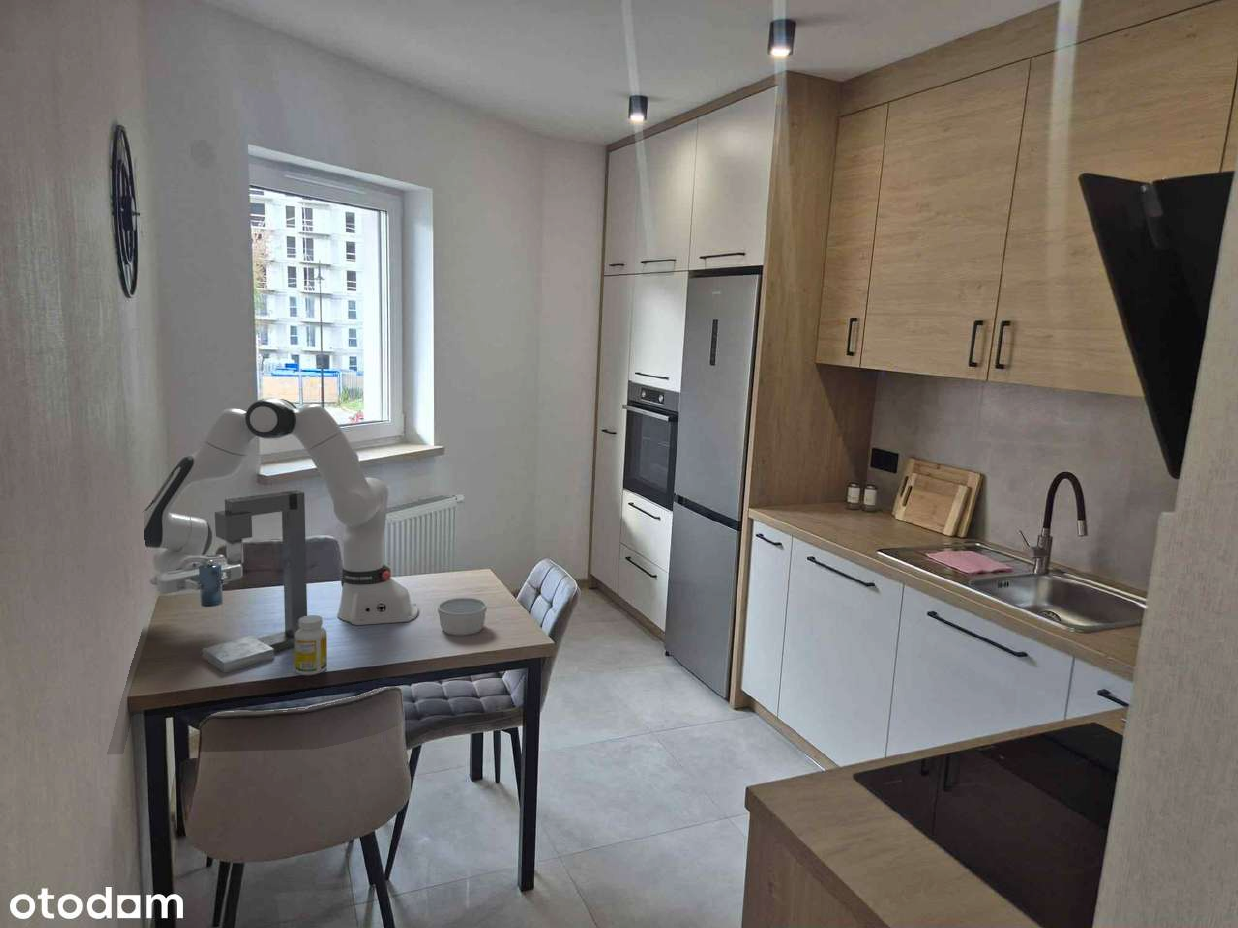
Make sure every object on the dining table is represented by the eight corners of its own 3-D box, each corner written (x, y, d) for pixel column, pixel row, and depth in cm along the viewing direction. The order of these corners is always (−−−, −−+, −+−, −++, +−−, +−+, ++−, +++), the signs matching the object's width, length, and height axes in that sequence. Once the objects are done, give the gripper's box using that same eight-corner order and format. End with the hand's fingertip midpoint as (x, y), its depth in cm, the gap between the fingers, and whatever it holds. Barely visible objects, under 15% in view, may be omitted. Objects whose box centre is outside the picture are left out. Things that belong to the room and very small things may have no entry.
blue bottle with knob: (225, 600, 203) (223, 557, 201) (218, 607, 198) (216, 563, 196) (205, 600, 203) (203, 557, 201) (197, 607, 198) (195, 563, 196)
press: (292, 633, 210) (288, 487, 203) (315, 646, 202) (312, 495, 196) (202, 658, 192) (195, 499, 186) (224, 672, 185) (217, 508, 178)
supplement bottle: (304, 678, 184) (303, 626, 181) (289, 669, 188) (288, 618, 186) (332, 669, 189) (332, 618, 187) (317, 660, 194) (316, 611, 191)
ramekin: (436, 638, 211) (436, 613, 210) (439, 620, 224) (439, 597, 223) (485, 637, 213) (486, 613, 212) (486, 620, 226) (486, 597, 225)
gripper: (146, 568, 199) (167, 580, 191) (227, 553, 215) (251, 564, 206) (147, 591, 200) (169, 605, 192) (228, 575, 216) (252, 586, 207)
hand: (212, 583), depth 199 cm, fingers closed on blue bottle with knob, 5 cm apart
